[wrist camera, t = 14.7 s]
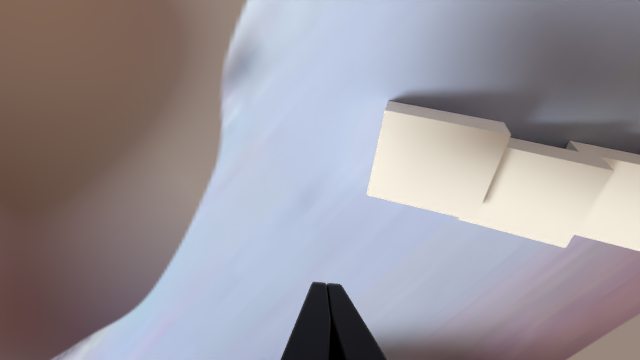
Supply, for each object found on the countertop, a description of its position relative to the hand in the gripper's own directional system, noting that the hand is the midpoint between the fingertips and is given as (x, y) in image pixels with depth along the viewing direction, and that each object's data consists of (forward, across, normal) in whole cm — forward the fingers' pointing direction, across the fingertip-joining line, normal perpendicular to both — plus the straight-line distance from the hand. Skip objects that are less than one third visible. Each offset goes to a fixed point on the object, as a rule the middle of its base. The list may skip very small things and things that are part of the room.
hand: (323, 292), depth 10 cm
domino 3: (+9, -13, 0) cm, 16 cm away
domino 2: (+9, -8, 0) cm, 12 cm away
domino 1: (+9, -3, -1) cm, 9 cm away
